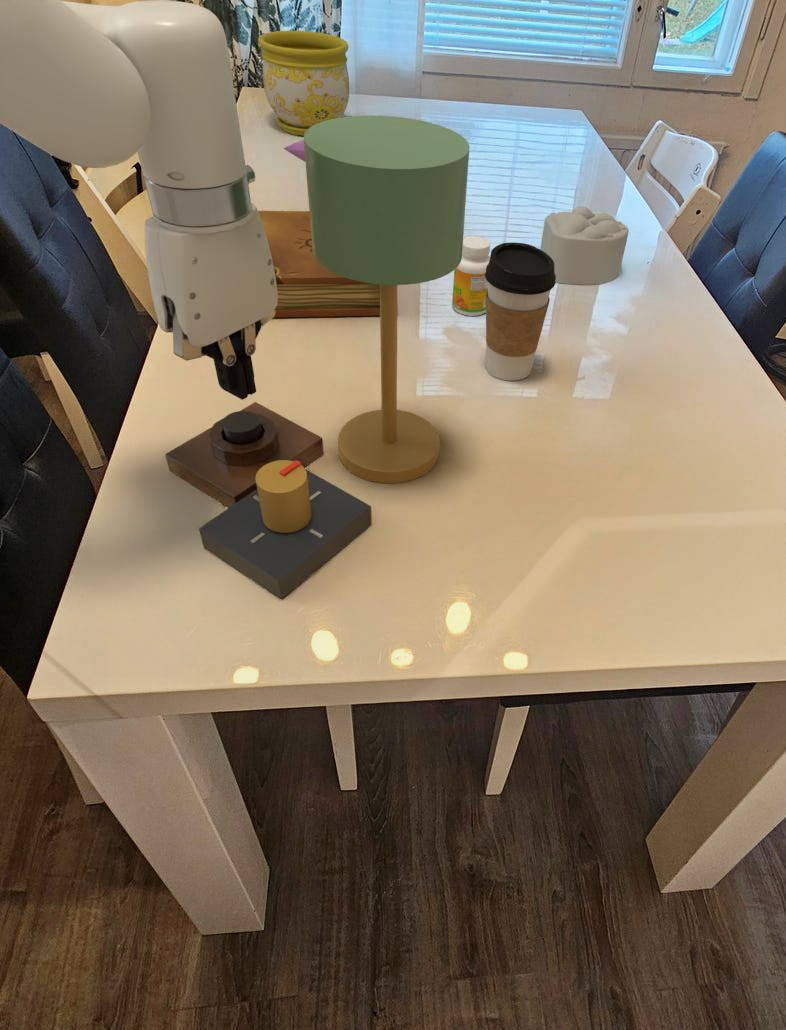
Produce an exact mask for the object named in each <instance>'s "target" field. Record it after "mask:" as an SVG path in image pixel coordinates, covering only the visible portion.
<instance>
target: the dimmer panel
mask: <svg viewBox="0 0 786 1030" xmlns="http://www.w3.org/2000/svg"><path fill="white" fill-rule="evenodd" d="M305 470H306V472H307V478H308V487H309V496H310V505H311V513H312V515H311V519H310V521H309V523H308V524H307V525H306V526H305V527H304V528H302V529H300V530H298V531H295V532H291V533H279V532H275V531H272V530H270V529H269V528H267V527H266V525H265V524H264V522H263V518H262V513H261V507H260V502H259V496H258V490H257V489H256V490H255V491H253V492H252V493H250V494H249V495H247V496H246V497H244V498H243V499H241V500H240V501H239V502H237V503H236V504H234V505H233V506H231V507H230V508H228V507H227V508H226V509H225V510H223V512H221V513H220V514H218V515H217V516H215V517H214V518H212V519H210V520H209V521H207V522H206V523H205V524H203V525H202V526H200V527H199V528H198V531H199V535H200V538H201V542H202V546H203V548H204V549H206V550H207V551H208V552H210V553H211V554H213V555H215V556H216V557H217V558H219V559H221V560H222V561H224V563H227V564H228V565H229V566H231V567H232V568H234V569H236V570H237V571H238V572H240V573H242V574H243V575H245V576H246V577H247V578H248V579H250V580H252V581H253V582H255V583H256V584H258V585H259V586H261V587H262V588H264V589H265V590H267V591H269V592H270V593H272V594H273V595H274V596H276V597H278V598H279V599H281V600H283V599H285V597H286V596H287V595H289V594H290V593H291V592H293V591H294V590H296V588H297V587H298V586H300V585H301V584H302V583H303V582H305V581H306V580H307V579H308V578H309V577H311V576H312V575H313V574H314V573H315V572H316V571H317V570H319V569H320V568H321V567H322V566H324V565H325V564H326V563H327V562H328V561H330V560H331V559H332V558H333V557H335V556H336V555H337V554H338V553H339V552H340V551H342V550H343V549H345V547H347V545H349V544H350V543H351V542H352V541H353V540H355V539H356V538H357V537H358V536H360V535H361V534H362V533H363V532H364V531H366V530H367V529H368V528H369V527H370V526H372V506H371V504H368V503H366V502H364V501H363V500H361V499H360V498H358V497H356V496H354V495H352V494H350V493H349V492H347V491H345V490H343V489H342V488H340V487H338V486H336V485H335V484H333V483H331V482H330V481H328V480H325V479H324V478H322V477H321V476H319V475H317V474H315V473H313V472H311V471H310V470H308V469H306V468H305Z"/></svg>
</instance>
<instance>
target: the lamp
mask: <svg viewBox="0 0 786 1030" xmlns="http://www.w3.org/2000/svg"><path fill="white" fill-rule="evenodd" d="M303 139H304V150H305V162H304V163H305V174H306V186H307V197H308V211H310V223H311V236H312V248H313V254H314V256H315V258H316V260H317V261H318V262H319V263H320V264H321V265H322V266H323V267H325V268H326V269H328V270H329V271H331V272H333V273H335V274H337V275H340V276H343V277H345V278H349V279H352V280H356V281H360V282H365V283H372V284H380V315H379V325H380V326H379V327H380V328H379V329H380V330H379V331H380V333H379V334H380V335H379V336H380V398H381V401H380V402H381V404H380V405H381V409H376V410H371V411H366V412H363V413H361V414H359V415H356V416H354V417H352V418H350V419H349V420H348V421H347V422H346V423H345V424H344V425H343V426H342V428H341V429H340V431H339V433H338V436H337V448H338V449H337V451H338V457H339V459H340V462H341V463H342V465H343V466H344V467H345V468H346V469H347V471H349V472H350V473H351V474H353V475H354V476H356V477H358V478H360V479H363V480H366V481H368V482H374V483H378V484H379V483H380V484H401V483H406V482H409V481H413V480H416V479H418V478H420V477H423V476H424V475H426V474H427V473H429V472H430V471H431V470H432V469H433V468H434V467H435V465H437V463H438V460H439V457H440V447H441V439H440V438H441V437H440V435H439V432H438V430H437V429H436V427H435V426H434V425H433V424H432V423H431V422H430V421H429V420H427V419H426V418H425V417H422V416H420V415H419V414H416V413H413V412H410V411H406V410H401V409H398V286H407V285H417V284H422V283H427V282H431V281H435V280H438V279H441V278H443V277H445V276H447V275H449V274H451V273H452V272H454V270H455V269H456V268H457V267H458V265H459V264H460V262H461V259H462V248H463V238H464V234H465V233H464V231H465V219H466V218H465V217H466V203H467V202H466V201H467V190H468V189H467V188H468V173H469V159H470V144H469V141H468V140H467V139H466V138H465V137H464V136H462V135H461V134H460V133H458V132H456V131H455V130H452V129H450V128H447V127H446V126H443V125H439V124H436V123H433V122H429V121H425V120H420V119H414V118H410V117H409V118H408V117H403V116H402V117H401V116H393V115H350V116H342V117H341V118H335V119H331V120H326V121H323V122H320V123H318V124H315V125H313V126H312V127H310V128H309V129H308V130H307V131H306V132H305V134H304V136H303Z"/></svg>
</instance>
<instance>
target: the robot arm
mask: <svg viewBox="0 0 786 1030" xmlns="http://www.w3.org/2000/svg"><path fill="white" fill-rule="evenodd" d="M0 124H1V125H2V126H4V127H5V128H7V129H8V130H10V131H12V132H13V133H15V134H16V135H18V136H19V137H21V138H23V139H24V140H26V141H28V142H29V143H30V144H32V145H34V146H35V147H37V148H38V149H41V150H42V151H44V152H46V153H47V154H49V155H50V156H52V157H55V158H56V159H59V160H61V161H63V162H66V163H69V164H71V165H75V166H78V167H83V168H89V169H106V168H110V167H114V166H118V165H120V164H122V163H124V162H126V161H128V160H130V159H131V158H132V157H133V156H134V155H136V154H137V155H138V160H139V163H140V167H141V171H142V175H143V179H144V185H145V187H146V192H147V197H148V200H149V205H150V208H151V212H152V216H150V217H149V218H146V219H145V220H144V249H145V250H144V251H145V261H146V269H147V276H148V282H149V288H150V293H151V298H152V303H153V307H154V312H155V316H156V319H157V324H158V326H159V327H160V329H161V330H162V331H163V332H165V333H166V334H167V333H172V341H173V342H172V346H173V347H172V349H173V350H172V351H173V354H174V355H175V356H177V358H179V359H182V360H184V361H191V360H192V361H193V360H196V359H200V358H203V357H205V356H206V357H208V358H211V359H212V360H213V363H214V369H215V372H216V377H217V383H218V385H219V387H220V388H221V389H222V390H223V391H224V392H227V393H229V394H230V395H233V396H234V397H236V398H238V399H239V400H245V399H247V398H248V396H249V395H250V396H252V395H254V394H255V393H257V386H256V381H255V371H254V365H253V361H252V356H253V355H254V354H255V353H256V349H257V343H256V341H257V338H258V336H259V333H260V331H261V329H262V327H264V326H265V325H266V324H268V322H269V321H271V320H272V319H273V318H275V317H274V316H275V313H276V311H275V308H276V306H277V300H278V295H277V284H276V278H275V272H274V266H273V261H272V257H271V252H270V248H269V244H268V240H267V237H266V233H265V230H264V227H263V224H262V221H261V218H260V215H259V213H258V211H259V210H258V208H257V206H256V205H255V204H254V203H253V202H252V199H251V193H250V187H249V185H250V184H252V183H253V182H255V180H256V173H255V171H254V169H253V167H252V166H250V165H249V164H246V159H245V152H244V146H243V140H242V133H241V132H242V131H241V127H240V120H239V113H238V105H237V100H236V92H235V86H234V80H233V73H232V66H231V60H230V53H229V45H228V41H227V35H226V32H225V29H224V26H223V24H222V22H221V21H220V19H219V18H218V16H217V15H216V14H214V13H213V12H212V11H211V10H210V9H208V8H207V7H203V6H201V5H198V4H194V3H192V2H191V3H190V2H186V1H184V2H183V1H178V0H137V1H131V2H128V3H124V4H121V5H106V4H105V5H104V4H93V3H82V2H75V1H74V2H73V1H67V0H0Z"/></svg>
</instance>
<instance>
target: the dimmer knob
mask: <svg viewBox="0 0 786 1030" xmlns="http://www.w3.org/2000/svg"><path fill="white" fill-rule="evenodd" d="M305 469H306V467H303V466H302V465H301V462H299V461H297V460H296V461H289V460H279V461H274V462H270V463H268V464H266V465H264V466H263V467H261V468H260V469H259V471H258V472H257V474H256V485H257V490H258V496H259V502H260V507H261V513H262V518H263V522H264V524H265V525H266V527H267V528H269V529H270V530H272V531H275V532H279V533H291V532H295V531H298V530H300V529H302V528H304V527H305V526H306V525H307V524H308V523H309V521H310V519H311V515H312V513H311V505H310V496H309V487H308V478H307V472H306V470H307V469H306V470H305Z"/></svg>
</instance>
